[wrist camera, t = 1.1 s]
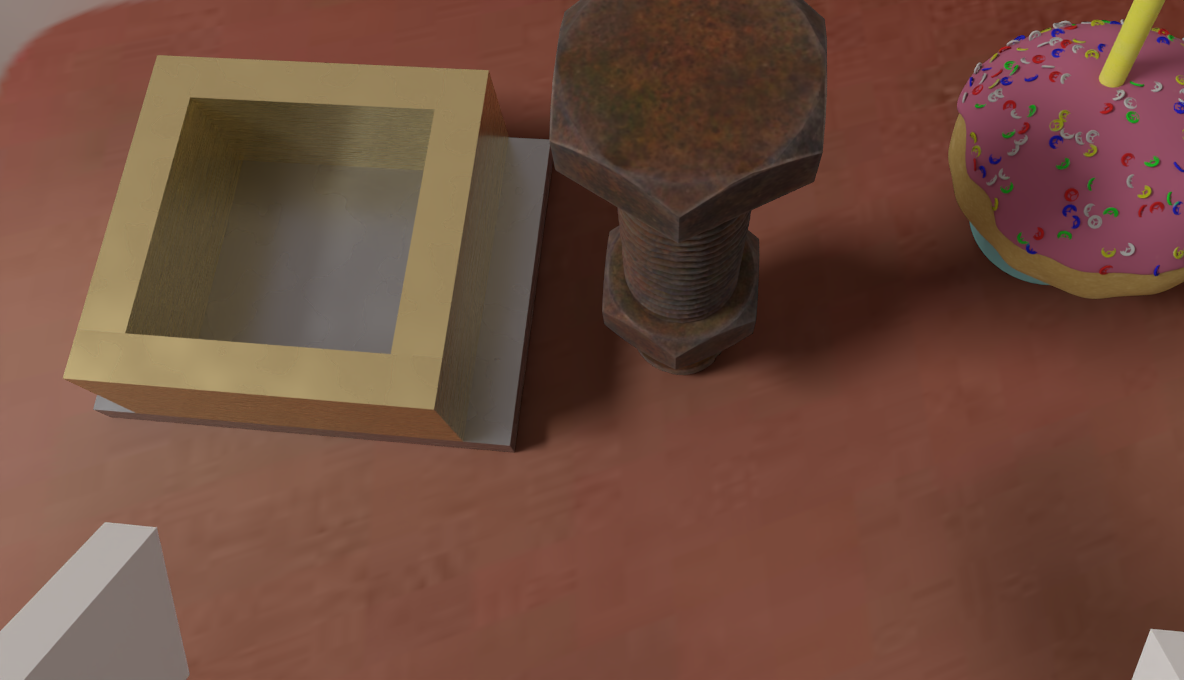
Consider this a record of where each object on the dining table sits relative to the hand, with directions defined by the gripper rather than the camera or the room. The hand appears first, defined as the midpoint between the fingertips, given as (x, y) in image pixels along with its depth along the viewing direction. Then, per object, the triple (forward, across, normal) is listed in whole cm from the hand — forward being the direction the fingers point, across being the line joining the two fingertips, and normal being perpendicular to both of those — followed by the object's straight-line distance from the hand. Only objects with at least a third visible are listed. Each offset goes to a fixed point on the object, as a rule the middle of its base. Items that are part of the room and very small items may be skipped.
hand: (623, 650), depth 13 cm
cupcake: (+23, +12, -1) cm, 26 cm away
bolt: (+19, 0, -4) cm, 20 cm away
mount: (+20, -12, -4) cm, 23 cm away
